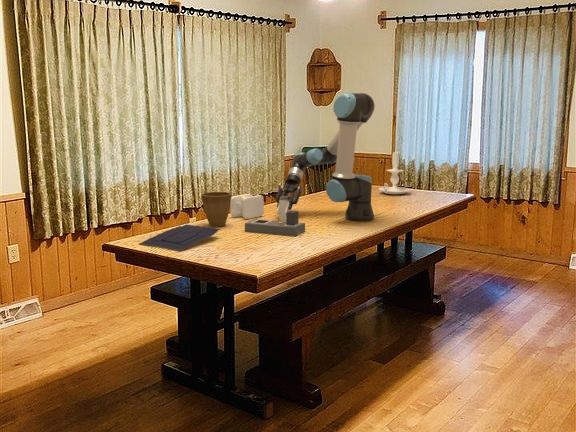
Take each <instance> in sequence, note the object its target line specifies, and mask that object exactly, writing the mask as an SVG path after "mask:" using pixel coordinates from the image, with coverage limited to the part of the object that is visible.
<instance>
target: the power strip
mask: <svg viewBox="0 0 576 432" xmlns="http://www.w3.org/2000/svg"><path fill="white" fill-rule="evenodd" d="M244 232H247V233H254V234H255V233H256V234H265V235H266V234H267V235H276V236H277V235H278V236H286V237H287V236H288V237H297V236H299V235H301V234H303V233H304V232H306V222H299V210H290V211H288V212H286V221H284V220H275V219H265V218H264V219H263V218H253V219H252V220H250V221H247V222H245V223H244Z"/></svg>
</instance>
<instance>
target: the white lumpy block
mask: <svg viewBox="0 0 576 432" xmlns="http://www.w3.org/2000/svg"><path fill="white" fill-rule="evenodd" d="M264 200H265V199H264V196H263V195H260V194H259V195H253V194H251V193H243V194H238V195H232V196H231V203H230V216H231V217H233V218H234V217H235V218H240V217H241V216H242V218H244V219H246V220H251V219H252V218H253V219H254V218H256V217H257V218H260V217H262V216H263V215H264V212H265V211H264Z"/></svg>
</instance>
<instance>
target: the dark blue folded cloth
mask: <svg viewBox="0 0 576 432" xmlns="http://www.w3.org/2000/svg"><path fill="white" fill-rule="evenodd" d="M219 231H221V229H220V228H216V227H207V226H201V225H192V224H184V225H182V226H180V225H179V226H177V227H173V228H171V229H167V230H165V231H163V232H161V233H159V234H157V235H154V236H152V237H150V238H147V239H146V240H144V241H142V242H140V243H139V245H141V246H143V245H144V246H147V247H148V246H149V247H153V248H154V247H155V248H156V247H157V248H162V249H166V250H172V251H177V252H182V251H184V250H187V249H188V248H190V247H192V246H194V245H195V244H197V243H199V242H201V241H203V240H206V239H208V238H209V237H212V236H214V235H216V234H217V233H218V232H219Z"/></svg>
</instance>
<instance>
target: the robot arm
mask: <svg viewBox="0 0 576 432" xmlns="http://www.w3.org/2000/svg"><path fill="white" fill-rule="evenodd" d="M375 106H376V105H375V101H374V99H373V98H372V96H370V95H369V94H368V93H363V92H362V93H361V92H358V93H357V92H356V93H353V92H347V93H341V94H339V95H338V96H337V97H336V98H335V100H334V103H333V108H332V109H333V113H334V115H335V116H336V120H337V122H338V123H339V128H338V129H339V130H338V131H337V132H336V134H335V136H333V137H332V138H331V140H330V142H329V143H328V144H327V145H326V147H325V148H324V149H319V148H312V149H310V150H308V151H307V152H303V151H302V152H301V151H300V152H296V153H295V154H294V157H293V159H292V163H291V164H290V168H289V171H288V172H287V176H286V179H285V182H284V184H283V185H280V184H279V185H278V191H277V193H276V196H275V202H276V203H277V204H276V214H277V216H279V197H281V196H290V202H288V204H287V207H286V210H285V214H286V212H288V211H289V210H290V211H292V208H293V205H297V204H298V202H299V199H300V196H301V194H302V192H303V191H304V189H303V188H302V187H303V186H300V184H301V180H302V178H303V175H304V172H305V169H307V168H309V167H311V166H315V165H325V164H334V163H335V170H334V172H333V173H332V174H331V180H329V181H328V182H327V183H326V187H325V190H326V191H325V192H326V194H327V196H328V198H329V200H331V201H332V202H334V203H344V202H348V205H347V206H346V207H347V208H346V211H345V214H344V219H345V220H349V221H355V222H367V221H369V222H370V221H373V220H374V219H375V212H374V209H373V206H372V186H373V183H372V177H371V176H370V175H366V174H365V175H364V174H355V173H353V172H354V162H355V150H356V142H357V132H358V131H359V129H360V128H361V127H362V125H364V124H366V123H367V122H368V121H369V119H371V117H372V116H373V114H374V112H375V108H376V107H375ZM289 194H290V195H289Z"/></svg>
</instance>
